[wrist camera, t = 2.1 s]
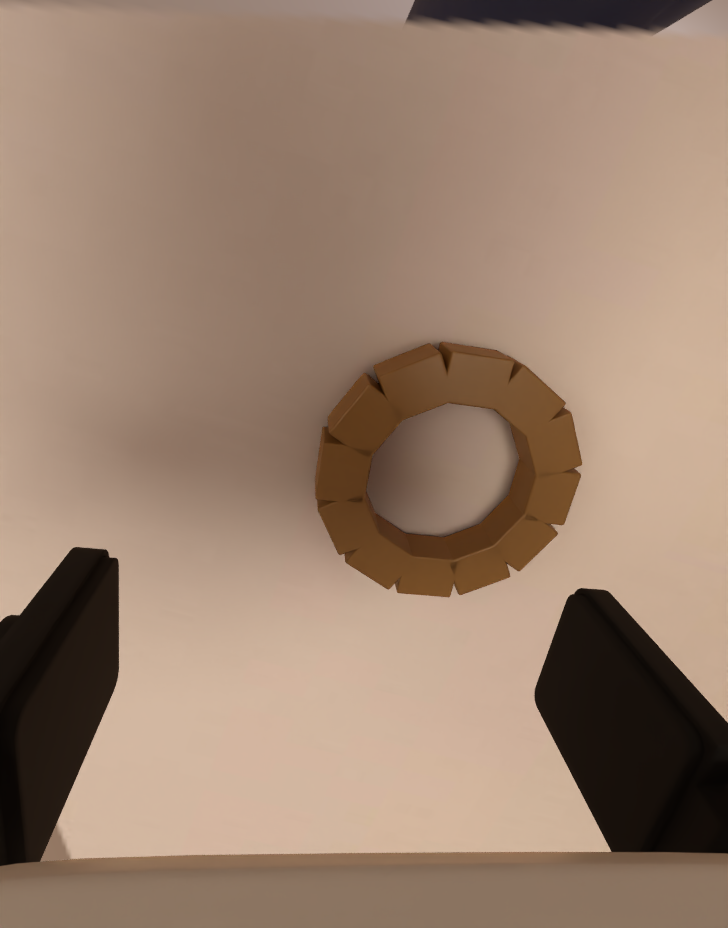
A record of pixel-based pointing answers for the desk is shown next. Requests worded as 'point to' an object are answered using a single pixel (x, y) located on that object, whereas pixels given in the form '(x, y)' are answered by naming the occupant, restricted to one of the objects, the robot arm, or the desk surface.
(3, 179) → the desk surface
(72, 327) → the desk surface
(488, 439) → the desk surface
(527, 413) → the ring
